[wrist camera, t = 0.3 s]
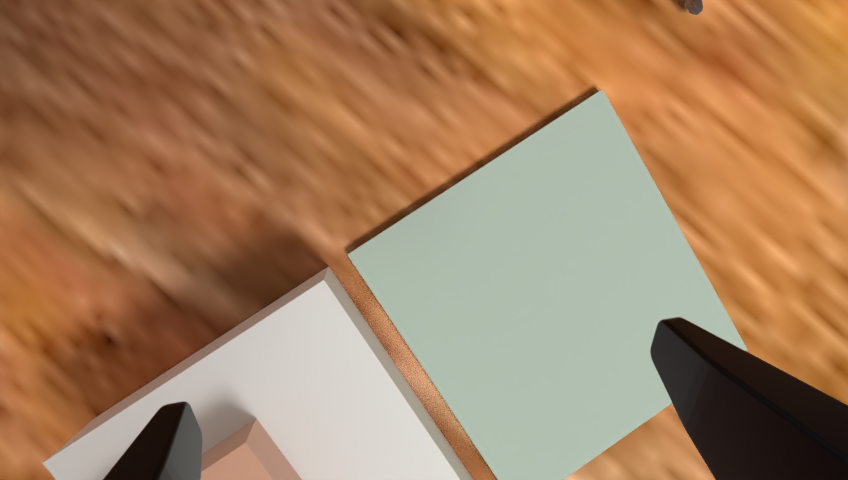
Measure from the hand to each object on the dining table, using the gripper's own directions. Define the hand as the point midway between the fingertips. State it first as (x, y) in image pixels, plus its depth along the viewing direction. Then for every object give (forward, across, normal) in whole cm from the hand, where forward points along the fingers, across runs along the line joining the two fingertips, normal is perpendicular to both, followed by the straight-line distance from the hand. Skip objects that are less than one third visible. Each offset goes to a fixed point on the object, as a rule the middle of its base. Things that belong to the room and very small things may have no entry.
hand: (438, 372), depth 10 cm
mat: (+11, -8, +9) cm, 17 cm away
